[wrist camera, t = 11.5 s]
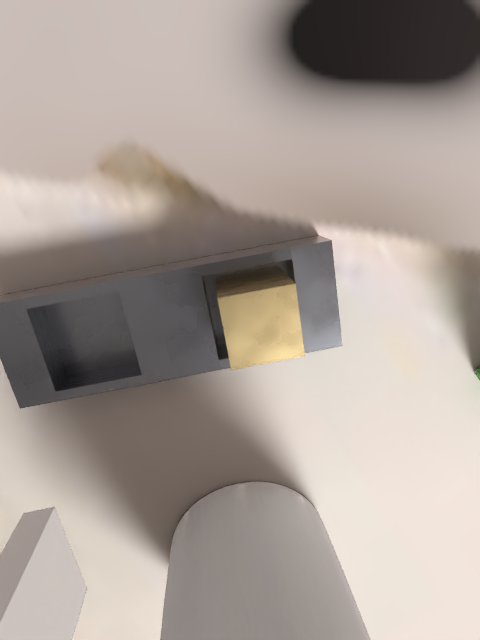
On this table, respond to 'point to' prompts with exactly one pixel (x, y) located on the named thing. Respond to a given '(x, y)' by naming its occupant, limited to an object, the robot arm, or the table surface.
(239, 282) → the block
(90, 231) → the table surface
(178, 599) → the utensil holder
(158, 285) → the grey slotted tray
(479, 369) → the ink box
